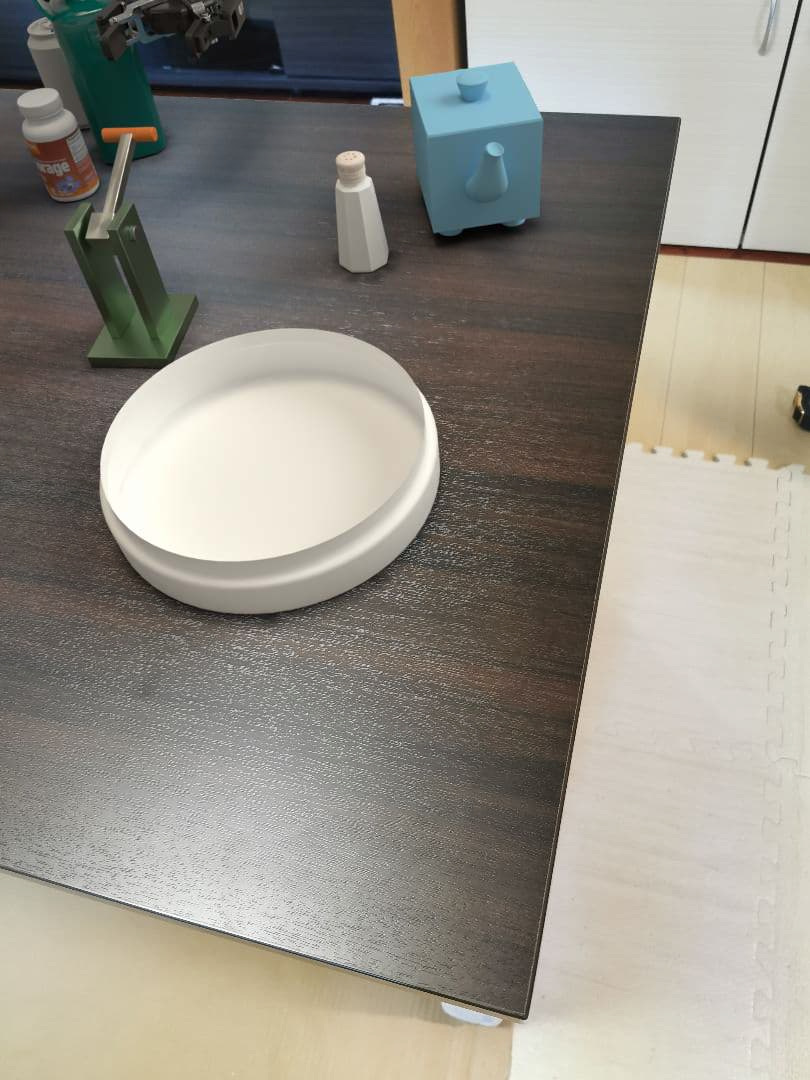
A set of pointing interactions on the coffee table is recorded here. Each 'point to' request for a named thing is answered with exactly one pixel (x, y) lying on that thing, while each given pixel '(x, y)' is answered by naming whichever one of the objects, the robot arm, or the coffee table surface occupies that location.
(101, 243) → the lever
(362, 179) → the salt shaker
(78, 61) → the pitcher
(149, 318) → the bracket
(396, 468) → the white round dish
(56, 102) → the pill bottle
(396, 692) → the coffee table surface
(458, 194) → the teapot
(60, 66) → the can
